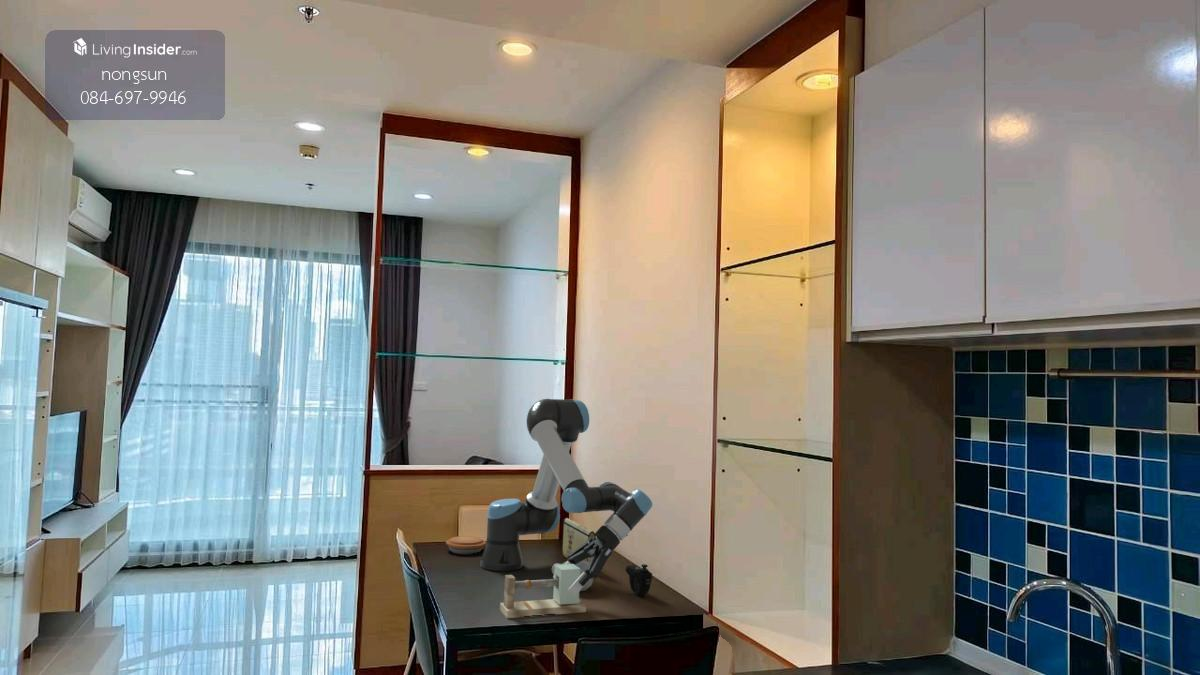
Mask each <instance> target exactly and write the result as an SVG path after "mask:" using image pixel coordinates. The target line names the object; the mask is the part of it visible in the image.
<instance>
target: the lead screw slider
mask: <svg viewBox="0 0 1200 675" xmlns="http://www.w3.org/2000/svg"><path fill="white" fill-rule="evenodd" d="M554 586H559V579H554V578H550V579H548V578H546V579H536V580H535V579H533V580H531V579H525V580H516V577H515V576H514V575H513V574H505V575H504V592H503V602H499V611H500V612H501V613H502V615H503V616H504V617H505V618H506V619H514V618H515V619H516V618H525V617H524V616H530V617H533V616H532V615H542V616H547V615H546V614H555V615H564V614H565V615H568V614H579V613H587V604H585V602H583V601H582V600H581V599H579V603H576V604H562V605H559V604H558V603H557V602H556V601H555V600H554V599H553V598H550V599H549V598H548V599H538V600H536V599H535V600H521V601H515V590H516V589H517V590H518V589H525V590H526V589H528V590H529V589H532V588H545V587H547V588H548V587H554ZM544 614H545V615H544Z"/></svg>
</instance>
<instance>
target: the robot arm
mask: <svg viewBox="0 0 1200 675" xmlns="http://www.w3.org/2000/svg"><path fill="white" fill-rule="evenodd" d="M589 426H590V413H589V410H588V408H587V405H586V404H585V403H584V402H583V401H581V400H578V399H573V398H570V399H562V398H561V399H560V398H559V399H557V398H556V399H553V398H543V399H540V400H538V401H536V402H535V403H534V404H532V406H531V407H530V409H529V410H528V412H527V415H526V430H527V431H528V434H529V436H530V438H531V439H532V440H533V441H535V442H537V444H538V446H539V448H540V450H541V451H542V453H543V455H542V458H541V462H540V466H539V469H538V472H537V475H536V479H535V482H534V485H533V489H532V491H531V492H529V493H528V494H526V498H525V501H523V502H522V501H521V500H520V499H519V498H503V499H498V500H497V499H496V500H494V501H492V502H491V503H490V504H489V506H488V510H487V525H486V526H487V528H486V544H485V546H484V547H485V548H484V550H483V552H482V555H481V558H480V565H479V567H480V568H482V569H484V570H488V571H492V572H493V571H495V572H511V571H517V570H520V569H523V567H524V566H523V565H524V564H523V563H524V559H523V557H522V552H521V547H520V536H526V535H529V536H530V535H536V534H538V535H543V534H546V533H551V532H553V531H554V530H555V529H556V528H557V527H558V525H559V523H560V518H561V514H560V513H561V511H560V510H561V509H560V507H559V504H558V501H557V499H556V496H557V491H558V489H559V486H560V487H561V489H562V491H563V492H562V494H561V503H562V508H563V510H565V512H567V513H569V514H581V513H589V512H590V513H591V512H604V511H612V512H613V513H612V514H611V515H610V516H609V517H608V518H607V519H606V520H605V521H604V522H603V523H604V525H601V526H600V527H599V528H598V529H597V531H595V532H594V533H595V535H596V539H595V540H593V539H592V538H589V539H588V540H587V541H586V542H585V543H584V544H583V545H581V546H580V547H579V548H577V549H576V550H574V551H573V552H572V553H570V554H569V555H568V556H567V558H568V559H567V558H566V559H567V562H566V561H565V562H566V563H565V564H574V565H575V564H577V563H579V562H581V561H583V560H584V559H586V558H588V557H589V558H591V560H590V563H589V565H588V568H587V570H584V572H583V573H582V574H581V575H580V576H579V577H578V579H577V580H576V581H575V582H574V583H573V584H572V585H571V586H570V587H569V588H568V589H569V590H570V591H571V593H572V594H573V595H574V596H575V595H576V594H577V593H578V592H579V593H580V592H581V591H580V590H581V589H582V587H583V586H584V585H585V584H586V583H587V582H588V581H589V580H590V578H591V579H592V578H593V579H594V580H595V579H597V578H598V577H599V575H600V573H601V571H602V570H603V568H604V566H605V564H606V562H607V561H608V559H609V558H610V557H611V555H612V554H613V552H612V551H614V550H615V549H616V548H617V546H619V545H620V543H621V541H623V540H624V539H625V538H626V537H628V536H629V533H631V531H632V530H633V529H634V528H635V527H636V526H637V525H638V524H639V522H640V521H641V520H643V518H644V517H645V516H647V514H648V512H649V511H651V509H652V507H653V501H652V499H651V498H650V497H649V496H648V495H647V494H646V493H645V492H643V491H642V490H640V489H638V488H637V489H634V490H633V491H632V492H631V493H630V492H628V491H627V490H625V489H623V488H622V487H620V486H619V485H618V484H616V483H613V482H611V481H605V482H604V483H602V484H600V485H599V486H589V485H588V483H587V482H586V481H585V478H584V477H583V475H582V473H581V471H580V470H579V468H578V466H577V464H576V462H575V460H574V459H573V457H572V455H571V453H570V450H571V447H572V444H574V443H575V442H577V440H578V438H579V435H580V434H582V433H585V432H587V430H588V428H589ZM522 566H523V567H522ZM519 568H520V569H519ZM552 577H553V578H552V579H554V575H553V576H552Z"/></svg>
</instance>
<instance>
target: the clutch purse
mask: <svg viewBox="0 0 1200 675" xmlns="http://www.w3.org/2000/svg"><path fill="white" fill-rule="evenodd" d="M595 533H596V532H594V531H593V530H591V529H590V528H587V527H585V526H583V525H582V524H579V523H577V522H576V521H574V520H572V519H570V518H568V517H565V518H564V519H563V524H562V542H561V544H562V545H561V553H562V556H563V557H564V558H566V559H567V560H568V558H567V556H568V555H569V554H570V553H572V552H573V551H574V550H576V549H577V548H579V547H580V546H581V545H583V544H584V543H585V542H586V541H587V540H588V539H589V538H592V539H593V540H595V539H597V537H596V535H595ZM590 560H591V558H589V557H588V558H586V559H584V560H583V561H586V562H590Z"/></svg>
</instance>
